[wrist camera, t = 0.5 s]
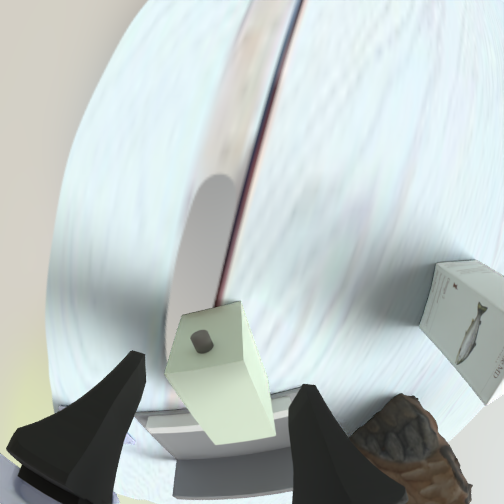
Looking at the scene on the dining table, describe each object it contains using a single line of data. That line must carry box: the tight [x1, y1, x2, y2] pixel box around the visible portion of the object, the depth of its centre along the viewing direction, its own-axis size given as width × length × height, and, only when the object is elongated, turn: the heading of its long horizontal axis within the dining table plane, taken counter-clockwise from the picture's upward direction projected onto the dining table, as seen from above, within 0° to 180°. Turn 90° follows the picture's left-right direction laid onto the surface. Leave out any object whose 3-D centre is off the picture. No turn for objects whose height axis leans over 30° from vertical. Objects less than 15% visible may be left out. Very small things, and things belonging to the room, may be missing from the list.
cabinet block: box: [164, 301, 276, 445], centre depth 19 cm, size 5×10×7 cm, turn 15°
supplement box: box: [419, 260, 504, 406], centre depth 16 cm, size 7×7×13 cm
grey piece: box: [134, 387, 301, 500], centre depth 24 cm, size 20×13×7 cm, turn 105°
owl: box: [349, 393, 473, 504], centre depth 20 cm, size 13×13×20 cm
